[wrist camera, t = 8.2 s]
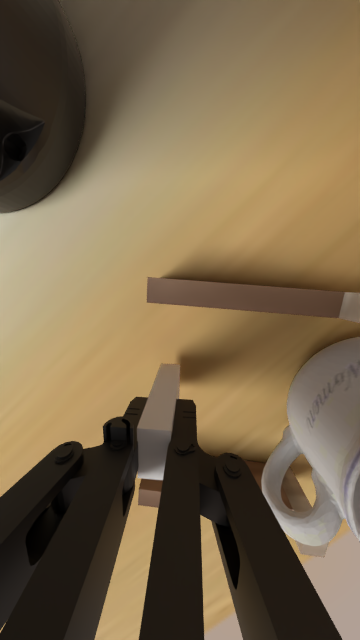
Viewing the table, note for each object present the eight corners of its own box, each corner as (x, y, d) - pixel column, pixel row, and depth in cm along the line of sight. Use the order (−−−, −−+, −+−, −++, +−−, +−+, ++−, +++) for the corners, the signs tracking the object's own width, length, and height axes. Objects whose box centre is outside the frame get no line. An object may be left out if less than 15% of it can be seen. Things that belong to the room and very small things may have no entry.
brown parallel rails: (158, 278, 15) (141, 276, 10) (328, 291, 14) (402, 295, 9) (148, 462, 18) (132, 530, 13) (286, 479, 17) (324, 557, 12)
